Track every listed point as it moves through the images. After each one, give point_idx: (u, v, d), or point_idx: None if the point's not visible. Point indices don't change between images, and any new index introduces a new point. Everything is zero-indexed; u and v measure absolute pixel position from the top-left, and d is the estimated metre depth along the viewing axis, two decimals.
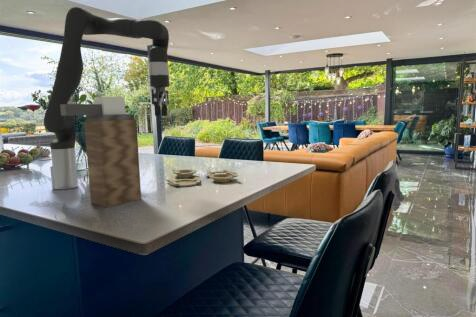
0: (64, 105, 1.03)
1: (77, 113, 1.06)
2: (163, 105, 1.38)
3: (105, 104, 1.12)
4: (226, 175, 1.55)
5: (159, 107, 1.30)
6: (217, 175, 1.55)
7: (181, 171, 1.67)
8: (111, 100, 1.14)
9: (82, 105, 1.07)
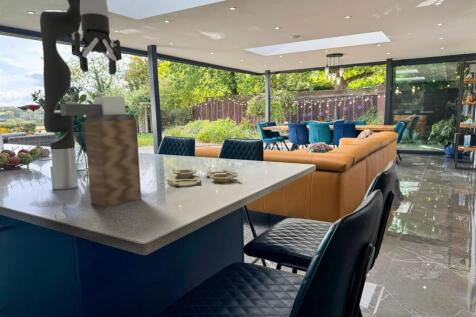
0: (64, 105, 1.03)
1: (77, 113, 1.06)
2: None
3: (105, 104, 1.12)
4: (226, 175, 1.55)
5: None
6: (217, 175, 1.55)
7: (181, 171, 1.67)
8: (111, 100, 1.14)
9: (82, 105, 1.07)
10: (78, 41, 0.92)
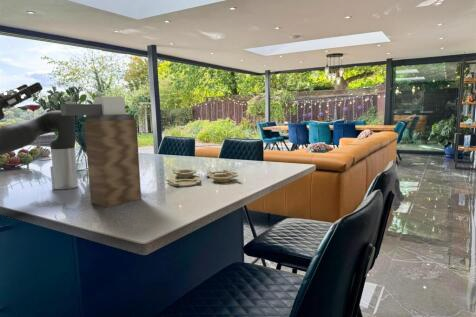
0: (64, 105, 1.03)
1: (77, 113, 1.06)
2: None
3: (105, 104, 1.12)
4: (226, 175, 1.55)
5: None
6: (217, 175, 1.55)
7: (181, 171, 1.67)
8: (111, 100, 1.14)
9: (82, 105, 1.07)
10: (13, 94, 0.86)
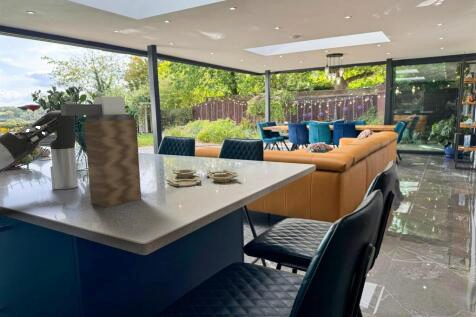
0: (64, 105, 1.03)
1: (77, 113, 1.06)
2: None
3: (105, 104, 1.12)
4: (226, 175, 1.55)
5: None
6: (217, 175, 1.55)
7: (181, 171, 1.67)
8: (111, 100, 1.14)
9: (82, 105, 1.07)
10: (36, 131, 0.93)
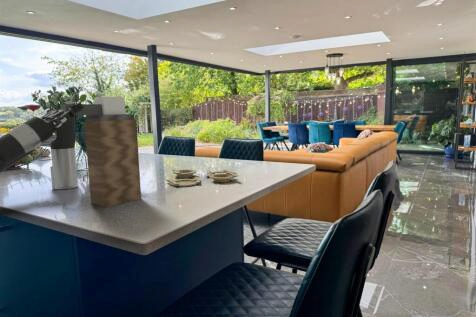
0: (64, 105, 1.03)
1: (77, 113, 1.06)
2: None
3: (105, 104, 1.12)
4: (226, 175, 1.55)
5: None
6: (217, 175, 1.55)
7: (181, 171, 1.67)
8: (111, 100, 1.14)
9: None
10: (63, 114, 0.99)
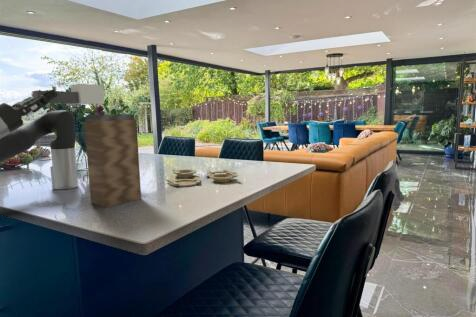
0: (36, 92, 0.97)
1: (51, 101, 0.99)
2: None
3: (82, 92, 1.05)
4: (226, 175, 1.55)
5: None
6: (217, 175, 1.55)
7: (181, 171, 1.67)
8: (89, 88, 1.07)
9: (56, 92, 1.00)
10: (34, 101, 0.93)
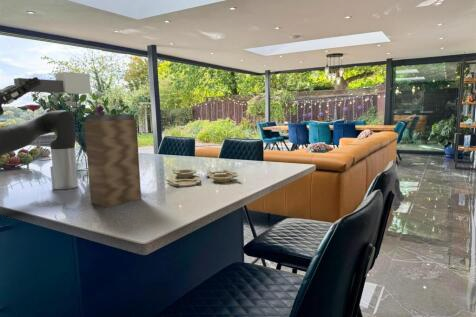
0: (17, 79, 0.93)
1: (33, 89, 0.96)
2: None
3: (67, 81, 1.02)
4: (226, 175, 1.55)
5: None
6: (217, 175, 1.55)
7: (181, 171, 1.67)
8: (74, 77, 1.03)
9: (39, 80, 0.97)
10: (14, 88, 0.89)
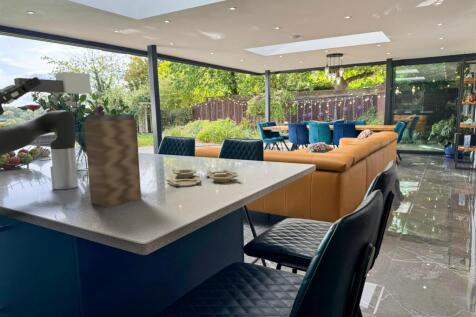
0: (18, 79, 0.93)
1: (33, 89, 0.96)
2: None
3: (67, 81, 1.02)
4: (226, 175, 1.55)
5: None
6: (217, 175, 1.55)
7: (181, 171, 1.67)
8: (74, 77, 1.03)
9: None
10: (14, 88, 0.89)
